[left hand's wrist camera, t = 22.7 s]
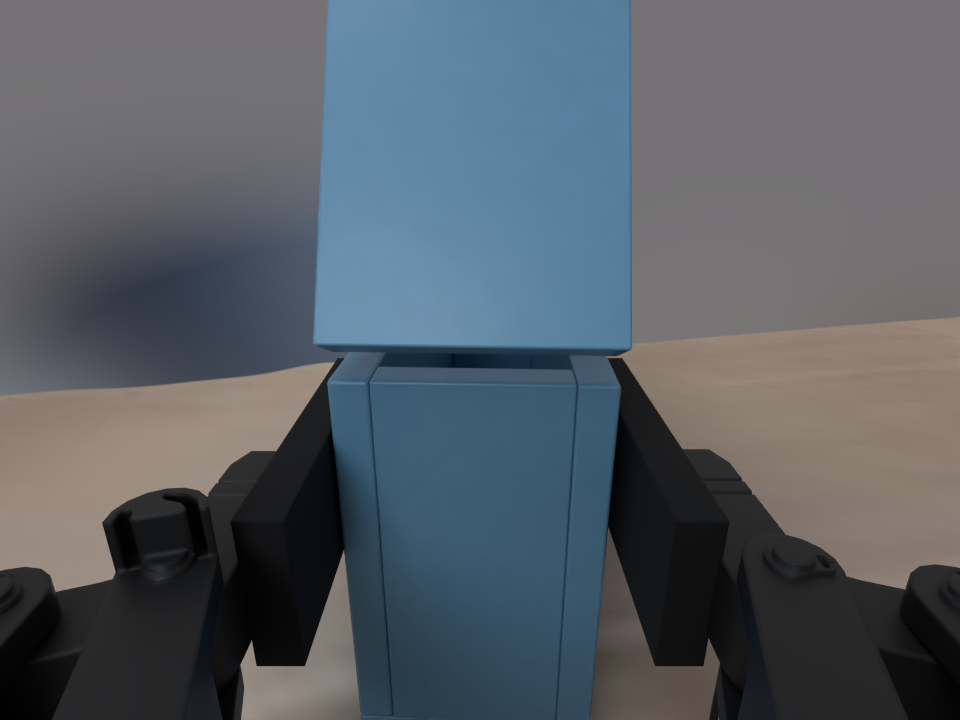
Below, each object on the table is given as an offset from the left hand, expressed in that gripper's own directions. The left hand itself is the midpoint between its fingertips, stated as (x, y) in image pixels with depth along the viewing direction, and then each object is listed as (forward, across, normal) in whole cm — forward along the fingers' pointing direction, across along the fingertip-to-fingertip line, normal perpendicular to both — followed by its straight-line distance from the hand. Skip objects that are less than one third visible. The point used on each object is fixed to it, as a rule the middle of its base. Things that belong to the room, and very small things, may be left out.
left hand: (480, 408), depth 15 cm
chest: (+4, 0, -6) cm, 8 cm away
